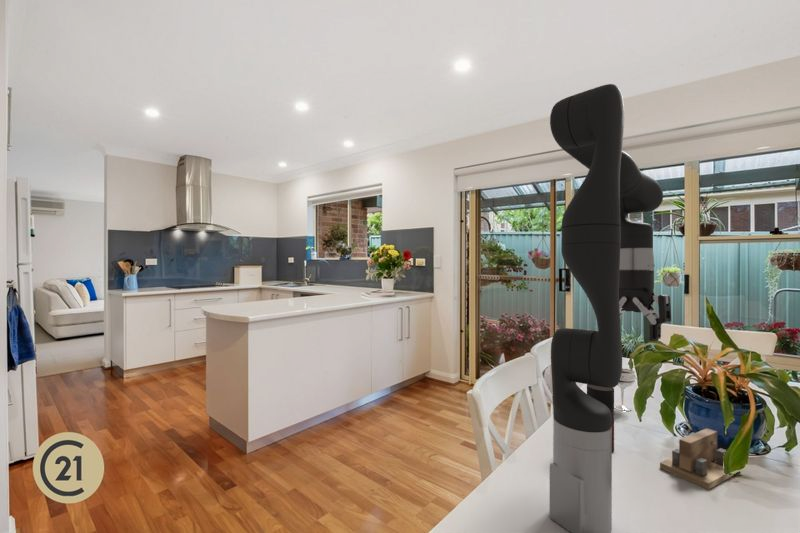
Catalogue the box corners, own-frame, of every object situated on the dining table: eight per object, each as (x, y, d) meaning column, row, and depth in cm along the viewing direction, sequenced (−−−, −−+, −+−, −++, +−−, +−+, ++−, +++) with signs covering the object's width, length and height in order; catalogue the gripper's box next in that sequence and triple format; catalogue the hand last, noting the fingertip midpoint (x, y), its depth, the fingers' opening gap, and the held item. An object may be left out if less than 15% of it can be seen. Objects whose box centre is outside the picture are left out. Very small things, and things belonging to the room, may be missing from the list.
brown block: (692, 472, 77) (693, 444, 78) (679, 467, 80) (679, 439, 80) (720, 459, 83) (720, 432, 83) (706, 454, 85) (706, 428, 85)
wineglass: (640, 410, 116) (640, 372, 116) (625, 413, 113) (625, 374, 113) (619, 403, 122) (619, 366, 122) (605, 406, 119) (605, 368, 119)
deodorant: (586, 450, 90) (586, 388, 90) (587, 440, 95) (587, 381, 95) (614, 456, 87) (614, 392, 87) (613, 445, 93) (613, 385, 93)
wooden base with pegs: (709, 489, 74) (709, 468, 74) (660, 467, 82) (660, 448, 82) (740, 471, 81) (740, 452, 81) (692, 453, 89) (692, 435, 89)
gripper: (595, 268, 91) (595, 334, 91) (658, 268, 78) (658, 345, 78) (614, 268, 94) (614, 332, 94) (677, 268, 82) (677, 341, 82)
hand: (634, 337), depth 86 cm, fingers open, 8 cm apart
